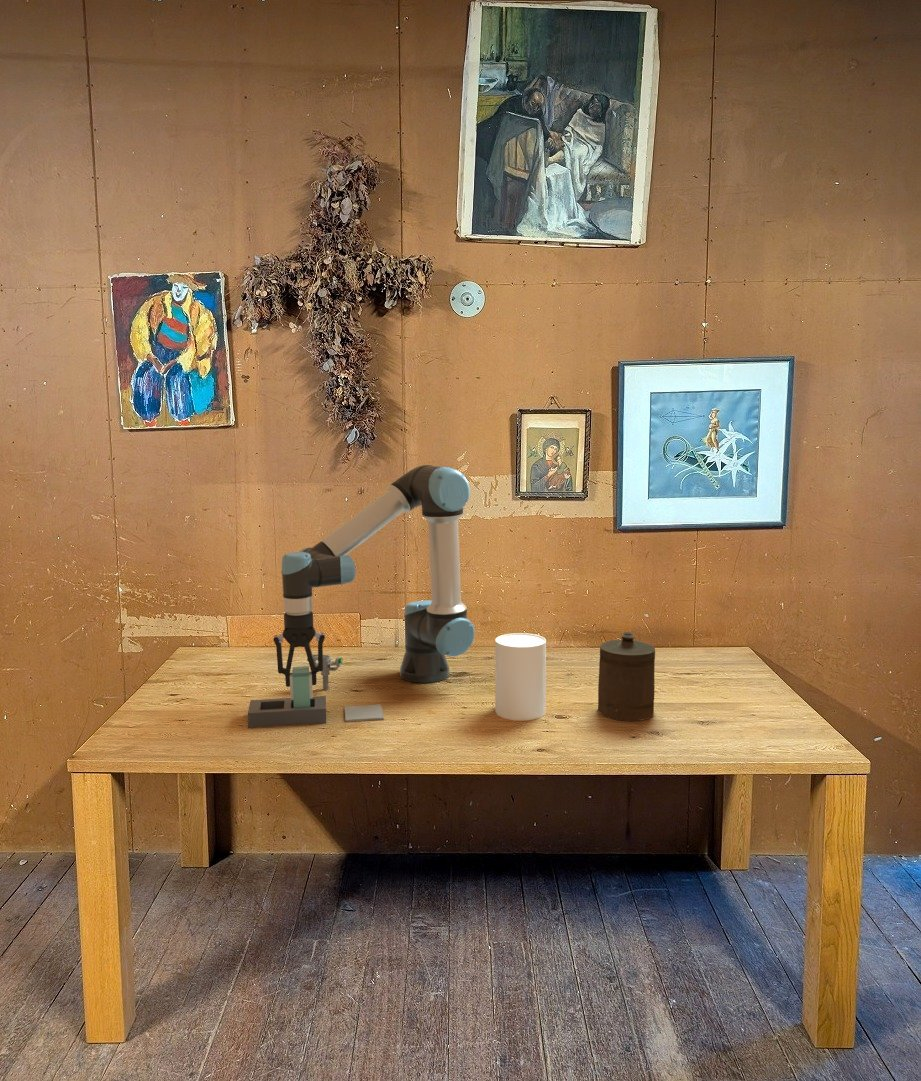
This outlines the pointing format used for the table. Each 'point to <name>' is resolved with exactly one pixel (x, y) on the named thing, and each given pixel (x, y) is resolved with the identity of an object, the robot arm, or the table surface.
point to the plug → (301, 686)
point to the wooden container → (626, 679)
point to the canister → (520, 676)
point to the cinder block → (285, 712)
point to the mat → (363, 713)
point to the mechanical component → (327, 667)
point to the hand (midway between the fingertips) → (301, 697)
